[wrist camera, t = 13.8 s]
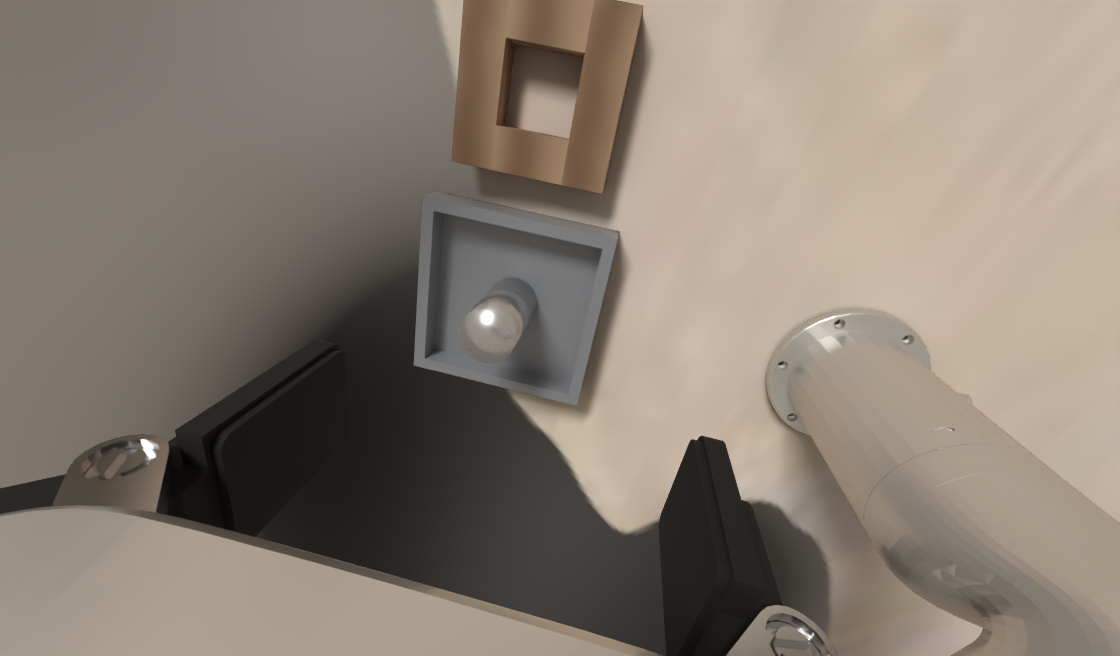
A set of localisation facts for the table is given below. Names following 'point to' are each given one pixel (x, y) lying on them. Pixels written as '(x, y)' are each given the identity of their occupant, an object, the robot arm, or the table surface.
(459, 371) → the tray
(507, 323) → the pin
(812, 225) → the table surface
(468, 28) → the pin block
